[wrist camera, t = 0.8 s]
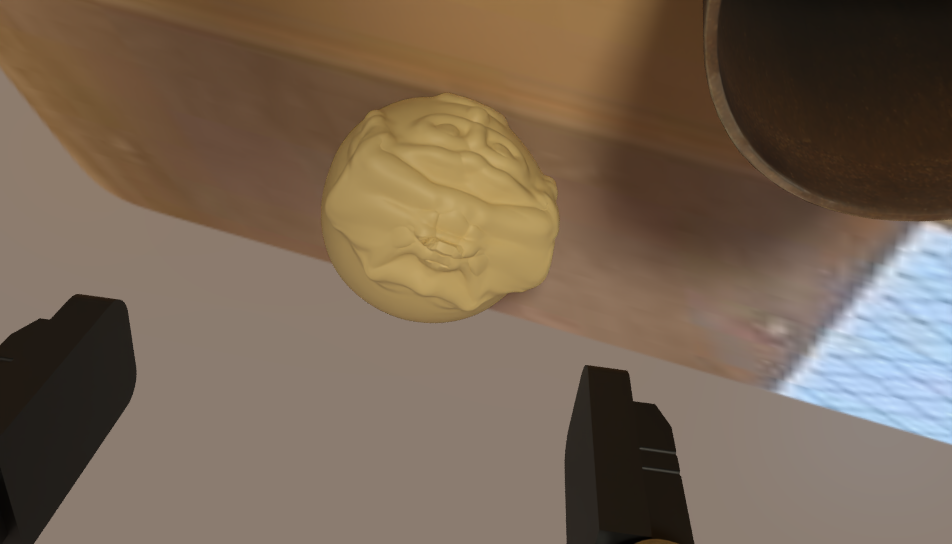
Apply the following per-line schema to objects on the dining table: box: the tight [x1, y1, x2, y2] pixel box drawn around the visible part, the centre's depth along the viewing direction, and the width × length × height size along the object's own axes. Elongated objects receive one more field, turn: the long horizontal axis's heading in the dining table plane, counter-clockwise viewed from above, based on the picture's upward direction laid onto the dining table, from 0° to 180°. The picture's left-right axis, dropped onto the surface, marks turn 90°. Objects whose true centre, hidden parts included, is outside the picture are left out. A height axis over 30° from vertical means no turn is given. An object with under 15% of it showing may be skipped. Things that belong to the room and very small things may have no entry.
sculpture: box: [321, 93, 560, 323], centre depth 41 cm, size 11×12×11 cm
